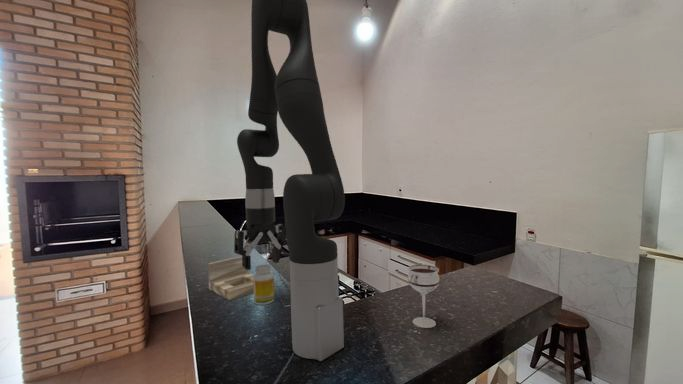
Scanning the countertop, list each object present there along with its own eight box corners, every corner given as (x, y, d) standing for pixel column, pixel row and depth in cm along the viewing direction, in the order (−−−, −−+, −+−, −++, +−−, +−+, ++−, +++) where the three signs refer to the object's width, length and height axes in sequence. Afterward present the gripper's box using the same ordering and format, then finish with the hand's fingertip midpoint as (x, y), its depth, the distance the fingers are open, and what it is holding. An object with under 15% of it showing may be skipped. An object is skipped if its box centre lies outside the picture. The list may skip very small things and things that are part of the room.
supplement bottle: (250, 301, 80) (249, 266, 80) (269, 296, 84) (267, 262, 83) (259, 307, 76) (257, 270, 76) (278, 301, 79) (276, 266, 79)
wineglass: (431, 314, 70) (430, 263, 69) (446, 328, 63) (445, 272, 62) (403, 317, 68) (402, 265, 68) (416, 331, 62) (415, 274, 61)
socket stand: (267, 288, 90) (266, 262, 89) (229, 300, 81) (228, 271, 81) (245, 278, 99) (244, 255, 99) (208, 289, 90) (207, 263, 90)
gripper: (242, 209, 71) (244, 275, 72) (290, 204, 81) (292, 262, 82) (228, 207, 76) (230, 269, 77) (275, 203, 87) (276, 257, 87)
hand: (262, 265), depth 80 cm, fingers open, 8 cm apart
